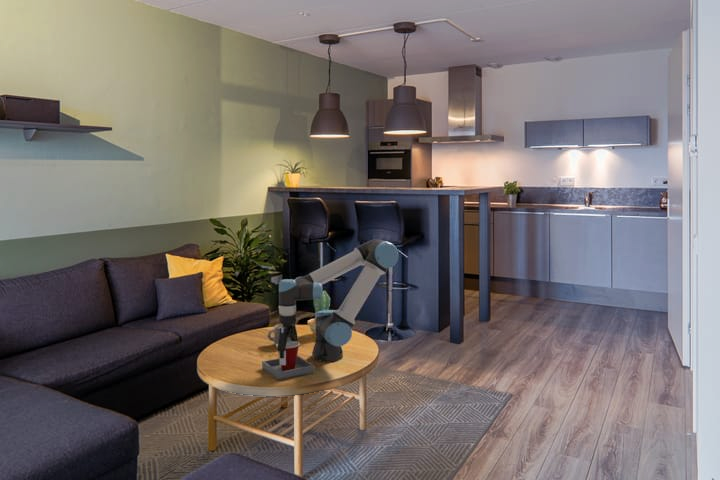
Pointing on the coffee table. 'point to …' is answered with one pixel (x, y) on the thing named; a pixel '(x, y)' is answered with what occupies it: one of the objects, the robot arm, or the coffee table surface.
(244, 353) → the coffee table surface
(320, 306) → the potted cactus
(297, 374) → the bin
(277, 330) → the coffee mug
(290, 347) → the plastic cup
